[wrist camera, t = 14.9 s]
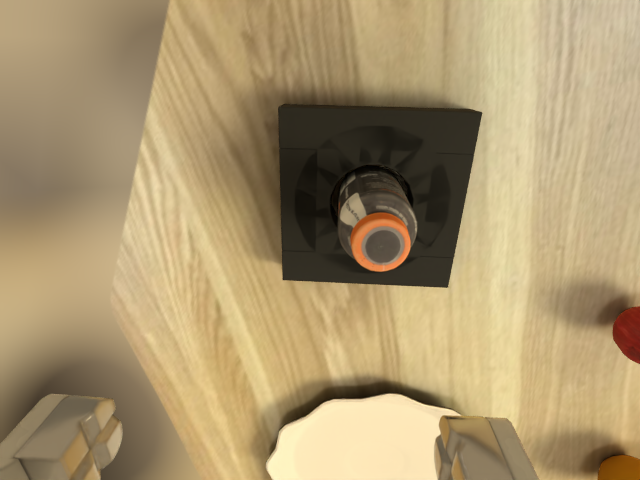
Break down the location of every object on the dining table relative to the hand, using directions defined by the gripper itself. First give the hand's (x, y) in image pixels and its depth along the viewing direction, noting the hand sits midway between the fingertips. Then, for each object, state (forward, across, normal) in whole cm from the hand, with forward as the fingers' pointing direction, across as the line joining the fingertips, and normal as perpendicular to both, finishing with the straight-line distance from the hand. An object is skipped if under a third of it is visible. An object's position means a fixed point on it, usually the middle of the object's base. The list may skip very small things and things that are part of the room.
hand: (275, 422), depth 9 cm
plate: (+27, -8, +41) cm, 49 cm away
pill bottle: (+27, -4, +3) cm, 28 cm away
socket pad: (+27, -4, +3) cm, 27 cm away
